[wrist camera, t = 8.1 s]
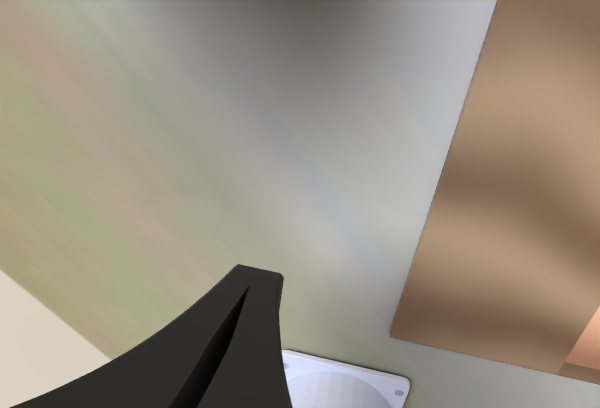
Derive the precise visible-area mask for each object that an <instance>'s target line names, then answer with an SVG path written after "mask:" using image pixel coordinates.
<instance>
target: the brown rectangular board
mask: <svg viewBox="0 0 600 408" xmlns="http://www.w3.org/2000/svg"><path fill="white" fill-rule="evenodd" d="M390 337H392V338H396V339H401V340H405V341H409V342H414V343H418V344H423V345H427V346H432V347H436V348H440V349H445V350H449V351H454V352H458V353H462V354H467V355H471V356H476V357H480V358H485V359H489V360H493V361H498V362H502V363H507V364H511V365H515V366H520V367H524V368H529V369H533V370H538V371H542V372H546V373H551V374H555V375H560V376H564V377H568V378H573V379H577V380H582V381H586V382H591V383H595V384H599V385H600V0H497V3H496V6H495V9H494V12H493V15H492V18H491V21H490V24H489V27H488V30H487V33H486V37H485V40H484V43H483V46H482V49H481V52H480V55H479V58H478V61H477V64H476V67H475V70H474V74H473V77H472V80H471V83H470V86H469V89H468V92H467V95H466V98H465V101H464V104H463V107H462V111H461V114H460V117H459V120H458V123H457V126H456V129H455V132H454V135H453V138H452V141H451V144H450V148H449V151H448V154H447V157H446V160H445V163H444V166H443V169H442V172H441V175H440V178H439V181H438V185H437V188H436V191H435V194H434V197H433V200H432V203H431V206H430V209H429V212H428V215H427V218H426V222H425V225H424V228H423V231H422V234H421V237H420V240H419V243H418V246H417V249H416V252H415V255H414V258H413V262H412V265H411V268H410V271H409V274H408V277H407V280H406V283H405V286H404V289H403V292H402V295H401V299H400V302H399V305H398V308H397V311H396V314H395V317H394V320H393V323H392V326H391V329H390Z"/></svg>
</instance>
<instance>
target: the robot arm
mask: <svg viewBox="0 0 600 408" xmlns="http://www.w3.org/2000/svg"><path fill="white" fill-rule="evenodd" d="M283 281H284V277H283V276H282V275H281V273H276V272H272V271H267V270H263V269H258V268H253V267H249V266H244V265H240V264H238V265H237V266H235V267H234V268H233V269H232V270H231V271H230V272H229V273H228V274H227V275H226V276H225V277H224V278H223V279H222V280H221V281H219V282H218V283H217V284H216V285H215V286H214V287H213V288H212V289H211V290H210V291H209V292H208V293H206V294H205V295H204V296H203V297H202V298H200V299H199V300H198V301H197V302H196V303H195V304H193V305H192V306H191V307H190V308H189V309H187V310H186V311H185V312H184V313H182V314H181V315H180V316H178V317H177V318H176V319H174V320H173V321H172V322H171V323H169V324H168V325H167V326H165V327H164V328H163V329H161V330H160V331H158V332H157V333H155V334H154V335H153V336H151V337H150V338H148V339H147V340H145V341H143V342H142V343H140V344H139V345H137V346H136V347H134V348H133V349H131V350H129V351H128V352H126V353H124V354H122V355H121V356H119V357H117V358H115V359H114V360H112V361H110V362H109V363H107V364H105V365H103V366H102V367H100V368H98V369H96V370H94V371H92V372H90V373H88V374H86V375H84V376H82V377H80V378H78V379H75V380H73V381H71V382H69V383H67V384H65V385H63V386H61V387H59V388H57V389H54V390H52V391H50V392H48V393H45V394H43V395H41V396H38V397H36V398H33V399H31V400H28V401H25V402H23V403H21V404H18V405H15V406H13V407H10V408H402V407H403V405H404V402H405V400H406V397H407V395H408V392H409V389H410V382H409V380H408V379H406V378H404V377H401V376H397V375H392V374H388V373H384V372H379V371H375V370H371V369H367V368H362V367H358V366H354V365H350V364H345V363H341V362H337V361H332V360H328V359H324V358H320V357H315V356H311V355H307V354H303V353H298V352H294V351H290V350H282V349H281V340H280V326H279V308H280V301H281V294H282V287H283ZM285 363H286V364H285ZM399 390H401V391H399Z"/></svg>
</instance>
